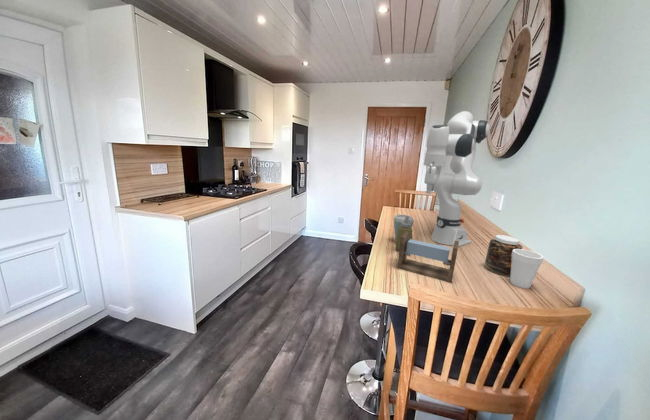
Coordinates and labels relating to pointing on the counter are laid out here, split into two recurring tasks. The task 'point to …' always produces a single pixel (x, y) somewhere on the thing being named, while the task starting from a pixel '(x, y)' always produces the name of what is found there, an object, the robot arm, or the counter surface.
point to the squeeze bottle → (403, 231)
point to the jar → (501, 254)
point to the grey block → (428, 250)
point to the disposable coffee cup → (398, 220)
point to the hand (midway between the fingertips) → (429, 192)
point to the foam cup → (524, 267)
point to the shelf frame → (423, 267)
